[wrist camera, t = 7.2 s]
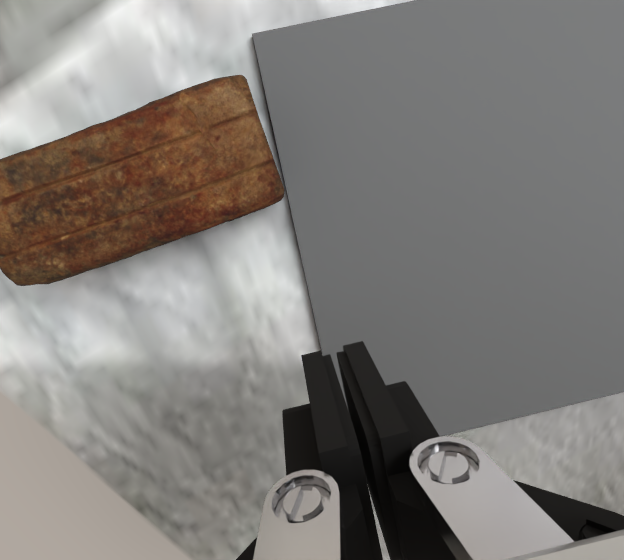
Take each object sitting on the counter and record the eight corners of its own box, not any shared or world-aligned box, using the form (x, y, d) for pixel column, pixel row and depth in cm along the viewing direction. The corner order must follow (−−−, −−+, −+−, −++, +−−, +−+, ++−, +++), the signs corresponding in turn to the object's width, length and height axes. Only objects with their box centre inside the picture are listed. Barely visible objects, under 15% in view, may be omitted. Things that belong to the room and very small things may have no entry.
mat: (666, -49, 19) (675, -53, 18) (653, 379, 25) (659, 383, 24) (252, 36, 18) (252, 33, 18) (344, 454, 24) (345, 459, 24)
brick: (285, 193, 20) (247, 85, 18) (289, 201, 16) (242, 66, 15) (61, 272, 20) (7, 170, 18) (12, 299, 16) (-60, 172, 15)
